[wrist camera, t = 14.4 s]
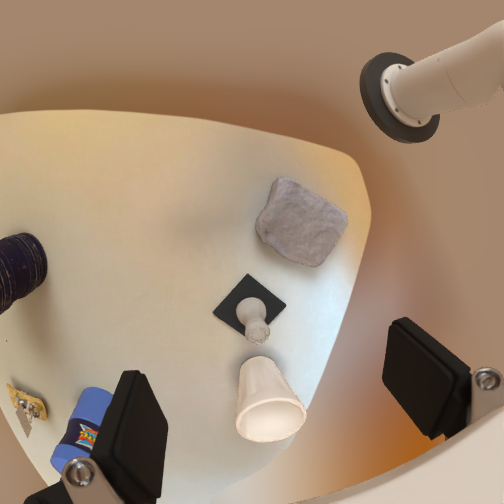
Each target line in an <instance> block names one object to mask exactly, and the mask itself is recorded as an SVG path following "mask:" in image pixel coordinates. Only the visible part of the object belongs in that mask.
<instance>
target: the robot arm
mask: <svg viewBox="0 0 504 504" xmlns="http://www.w3.org/2000/svg"><path fill="white" fill-rule="evenodd" d="M499 85H501V87H502V88H503V90H504V20H502V21H499V22H497V23H495V24H494V25H492V26H490V27H489V28H487V29H486V30H484V31H483V32H481V33H480V34H478V35H476V36H474V37H472V38H470V39H468V40H466V41H464V42H461V43H459V44H457V45H455V46H452V47H450V48H447V49H446V50H443V51H441V52H438V53H436V54H434V55H432V56H429V57H427V58H425V59H423V60H421V61H418V62H416V63H414V64H412V65H410V66H406V65H402V64H394V65H391V66H389V67H387V68H386V69H385V70H384V71H383V73H382V75H381V79H380V88H381V93H382V97H383V99H384V101H385V104H386V105H387V107H388V109H389V110H390V112H391V113H392V114H393V115H394V116H395V117H396V118H397V119H398V120H399V121H400V122H402V123H403V124H405V125H407V126H410V127H421V126H424V125H426V124H427V123H428V122H429V121H430V119H431V117H432V115H436V114H441V113H445V112H450V111H456V110H461V109H467V108H472V107H477V106H483V105H486V104H488V103H489V102H490V101H492V99H493V98H494V97H495V95H496V93H497V91H498V88H499ZM469 372H470V367H468V366H467V365H466V364H465V363H464V362H462V361H461V360H460V359H459V358H458V357H456V356H455V355H454V354H452V352H450V351H449V350H448V349H447V348H446V347H444V346H443V345H442V344H440V343H439V342H438V341H437V340H435V339H434V338H433V337H432V336H430V335H429V334H428V333H427V332H426V331H424V330H423V329H422V328H420V327H419V326H418V325H417V324H415V323H414V322H413V321H412V320H410V319H409V318H407V317H403V318H400V319H398V320H394V321H393V322H392V325H391V326H390V327H389V330H388V340H387V347H386V354H385V361H384V368H383V374H382V380H383V383H384V385H385V386H386V387H387V389H388V390H389V391H390V392H391V394H392V395H393V396H394V397H395V399H396V400H397V401H398V403H399V404H400V405H401V406H402V408H403V409H404V410H405V412H406V413H407V414H408V415H409V417H410V418H411V419H412V420H413V422H414V423H415V425H416V426H417V427H418V428H419V430H420V431H421V432H422V434H423V435H425V436H427V435H428V437H429V438H430V439H431V440H433V439H435V438H436V437H438V436H440V435H441V434H442V433H443V434H444V435H445V442H443V443H441V444H440V445H438V446H436V447H434V448H433V449H431V450H429V451H428V452H426V453H424V454H422V455H420V456H419V457H417V458H415V459H413V460H411V461H409V462H407V463H405V464H403V465H401V466H399V467H397V468H395V469H392V470H390V471H388V472H386V473H384V474H381V475H379V476H376V477H374V478H372V479H369V480H367V481H364V482H362V483H359V484H356V485H353V486H351V487H348V488H345V489H342V490H339V491H336V492H333V493H329V494H327V495H323V496H319V497H315V498H312V499H308V500H304V501H300V502H296V503H291V504H504V378H503V376H502V374H501V373H500V372H499V371H498V370H496V369H494V368H491V367H482V368H479V369H477V370H476V371H474V373H473V374H471V373H469ZM167 435H168V423H167V420H166V418H165V416H164V414H163V412H162V410H161V408H160V406H159V404H158V402H157V400H156V398H155V395H154V393H153V391H152V389H151V387H150V384H149V382H148V380H147V378H146V376H145V374H141V373H140V371H139V370H130V371H123V373H122V375H121V378H120V380H119V383H118V385H117V388H116V390H115V393H114V395H113V398H112V400H111V403H110V405H109V406H108V407H107V409H106V412H105V414H104V417H103V420H102V422H101V425H100V428H99V431H98V433H97V436H96V439H95V442H94V445H93V448H92V450H91V453H90V456H89V458H88V457H84V456H80V457H75V458H72V459H71V460H69V461H68V462H67V463H66V464H65V465H64V467H63V469H62V474H61V475H62V480H61V481H59V482H58V483H56V484H54V485H51V486H49V487H47V488H45V489H43V490H41V491H39V492H37V493H35V494H32V495H31V496H29V497H27V499H26V500H25V501H24V504H156V500H157V498H160V497H161V490H162V479H163V469H164V460H165V451H166V443H167Z"/></svg>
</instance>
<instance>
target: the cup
mask: <svg viewBox="0 0 504 504" xmlns="http://www.w3.org/2000/svg"><path fill="white" fill-rule="evenodd" d="M306 413H307V411H306V409H305V407H304V406H303V404H302V403H301V401H300V400H299V398H298V396H297V395H295V394H294V392H293V391H292V389H291V388H290V386H289V385H288V383H287V382H286V380H285V379H284V377H283V376H282V374H281V372H280V371H279V369H278V368H277V366H276V365H275V363H274V362H273V360H271V359H269V358H268V357H263V356H258V357H253V358H250V359H248V360H246V361H245V362H244V364H243V365H242V366H241V369H240V376H239V389H238V402H237V412H236V415H235V424H236V429H237V432H238V433H239V434H240V435H241V436H242V437H243V438H245V439H248V440H251V441H254V442H264V443H268V442H274V441H279V440H282V439H284V438H287V437H289V436H291V435H292V434H294V433H295V432H296V431H298V430H299V429H300V428H301V427H302V425H303V423H304V422H305V420H306Z"/></svg>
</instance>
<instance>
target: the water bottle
mask: <svg viewBox="0 0 504 504" xmlns="http://www.w3.org/2000/svg"><path fill="white" fill-rule="evenodd" d="M112 398H113V395H112V394H110V393H109V392H107V391H105V390H103V389H100V388H95V387H91V388H87V389H85V390H84V391H83V393H82V395H81V397H80V399H79V401H78V403H77V405H76V407H75V409H74V411H73V413H72V415H71V417H70V419H69V422H68V427H67V431H66V433H65V435H64V437H63V438H62V440H61V441H60V443H59V444H58V445H57V446H56V448H55V450H54V452H53V454H52V457H51V459H50V462H51V464H52V466H53V467H54V468H55V469H56V470H57V471H58V472H59V473H60V474H62V469H63V467H64V465H65V464H66V463H67V462H68V461H69V460H71V459H72V458H75V457H80V456H84V457H88V458H89V456H90V453H91V450H92V448H93V445H94V442H95V439H96V436H97V433H98V431H99V428H100V425H101V422H102V420H103V417H104V414H105V412H106V409H107V407H108V406H109V405H110V403H111V400H112ZM61 476H62V475H61ZM61 480H62V477H61V478H60V481H61Z"/></svg>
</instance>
